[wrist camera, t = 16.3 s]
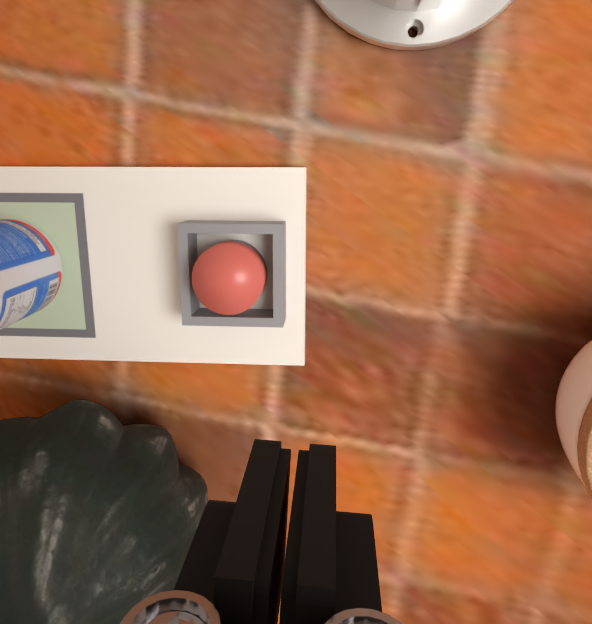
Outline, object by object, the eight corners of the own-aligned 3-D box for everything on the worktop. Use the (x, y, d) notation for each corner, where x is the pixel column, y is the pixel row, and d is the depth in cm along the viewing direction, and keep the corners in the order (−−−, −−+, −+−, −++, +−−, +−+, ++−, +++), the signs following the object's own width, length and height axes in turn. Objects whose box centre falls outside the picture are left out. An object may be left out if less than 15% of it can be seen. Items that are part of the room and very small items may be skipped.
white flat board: (-66, 166, 31) (-104, 165, 28) (306, 167, 30) (303, 166, 27) (-38, 352, 34) (-71, 367, 31) (305, 360, 33) (302, 378, 30)
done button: (199, 239, 29) (190, 243, 27) (267, 239, 29) (262, 244, 27) (202, 305, 30) (193, 314, 28) (267, 306, 30) (263, 315, 28)
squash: (-110, 602, 32) (-84, 876, 21) (-90, 362, 29) (-47, 536, 18) (125, 545, 41) (229, 715, 30) (160, 358, 38) (291, 471, 27)
